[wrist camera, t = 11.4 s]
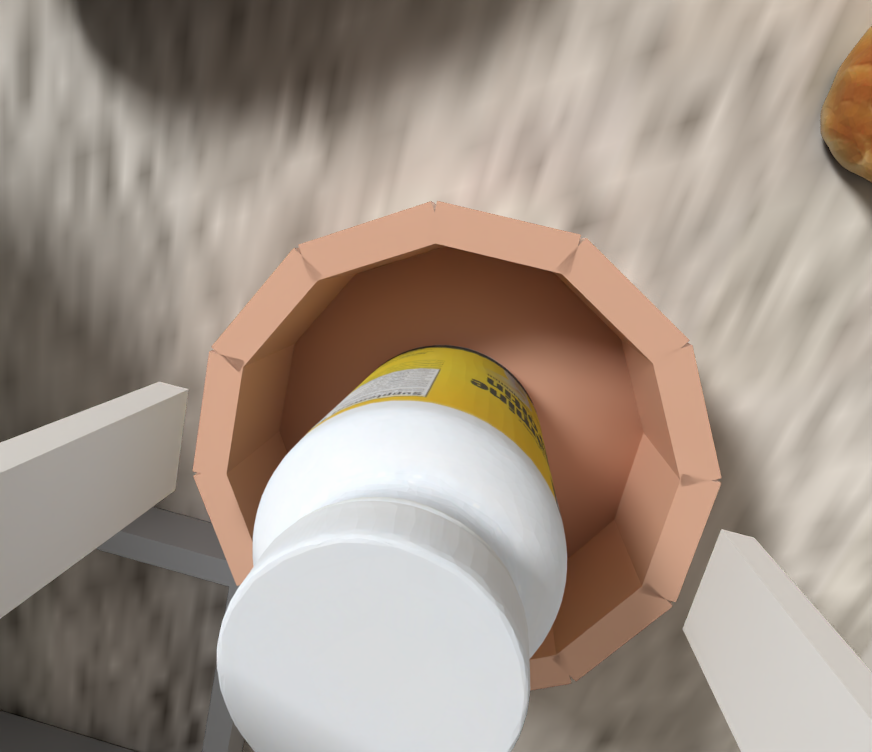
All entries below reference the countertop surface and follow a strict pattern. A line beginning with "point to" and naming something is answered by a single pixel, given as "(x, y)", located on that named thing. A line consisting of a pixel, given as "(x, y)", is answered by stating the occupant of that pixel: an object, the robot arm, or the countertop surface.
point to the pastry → (851, 111)
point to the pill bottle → (400, 569)
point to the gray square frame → (167, 548)
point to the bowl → (519, 353)
